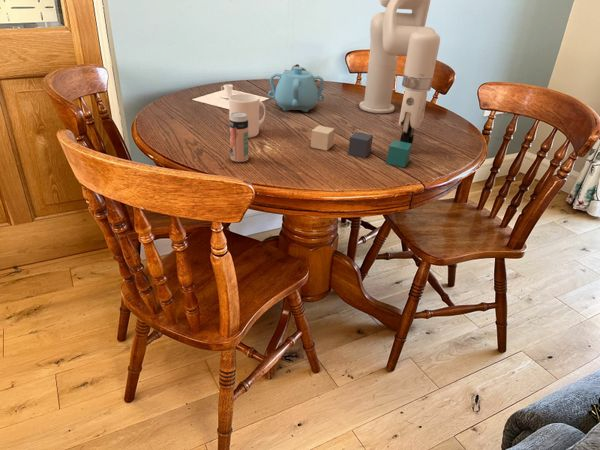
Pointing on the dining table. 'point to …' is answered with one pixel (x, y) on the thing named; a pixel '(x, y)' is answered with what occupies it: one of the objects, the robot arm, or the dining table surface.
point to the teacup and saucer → (222, 97)
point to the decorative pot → (296, 90)
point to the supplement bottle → (238, 137)
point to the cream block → (322, 137)
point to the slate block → (360, 144)
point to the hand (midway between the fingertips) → (405, 148)
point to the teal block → (399, 153)
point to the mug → (248, 110)
